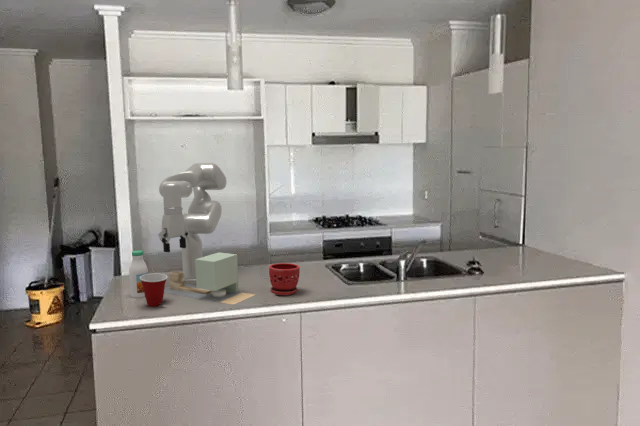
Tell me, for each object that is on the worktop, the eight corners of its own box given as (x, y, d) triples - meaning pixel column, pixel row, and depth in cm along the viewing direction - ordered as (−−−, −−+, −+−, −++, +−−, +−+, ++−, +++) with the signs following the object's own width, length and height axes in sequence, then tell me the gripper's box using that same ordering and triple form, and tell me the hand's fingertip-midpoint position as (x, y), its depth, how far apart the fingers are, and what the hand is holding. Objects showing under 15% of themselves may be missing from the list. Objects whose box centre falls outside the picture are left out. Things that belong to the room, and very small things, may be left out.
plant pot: (288, 298, 224) (288, 270, 223) (263, 294, 231) (262, 267, 230) (305, 290, 236) (305, 264, 234) (281, 287, 242) (280, 261, 241)
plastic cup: (155, 310, 212) (154, 280, 210) (135, 306, 216) (133, 277, 215) (174, 302, 221) (173, 274, 220) (154, 299, 226) (153, 271, 224)
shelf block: (220, 291, 237) (218, 252, 234) (238, 294, 232) (237, 254, 229) (197, 300, 224) (195, 259, 221) (216, 303, 219) (214, 261, 216)
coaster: (218, 292, 231) (218, 288, 231) (229, 294, 229) (229, 289, 228) (208, 296, 226) (208, 291, 226) (220, 298, 223) (219, 293, 223)
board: (179, 284, 248) (179, 282, 248) (242, 294, 231) (242, 292, 231) (155, 293, 235) (155, 291, 235) (219, 304, 218) (219, 302, 218)
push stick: (177, 286, 242) (176, 271, 241) (212, 292, 232) (211, 276, 231) (170, 289, 238) (169, 273, 237) (205, 294, 228) (204, 278, 227)
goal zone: (242, 294, 231) (242, 292, 231) (255, 297, 227) (255, 294, 227) (219, 304, 218) (219, 302, 218) (233, 306, 214) (233, 304, 214)
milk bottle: (130, 300, 225) (127, 253, 222) (131, 295, 233) (128, 250, 230) (149, 298, 227) (146, 252, 225) (149, 293, 235) (147, 248, 232)
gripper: (180, 208, 243) (182, 245, 245) (151, 213, 228) (153, 252, 231) (193, 209, 239) (195, 247, 242) (164, 214, 225) (166, 254, 227)
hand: (175, 249), depth 236 cm, fingers open, 9 cm apart
